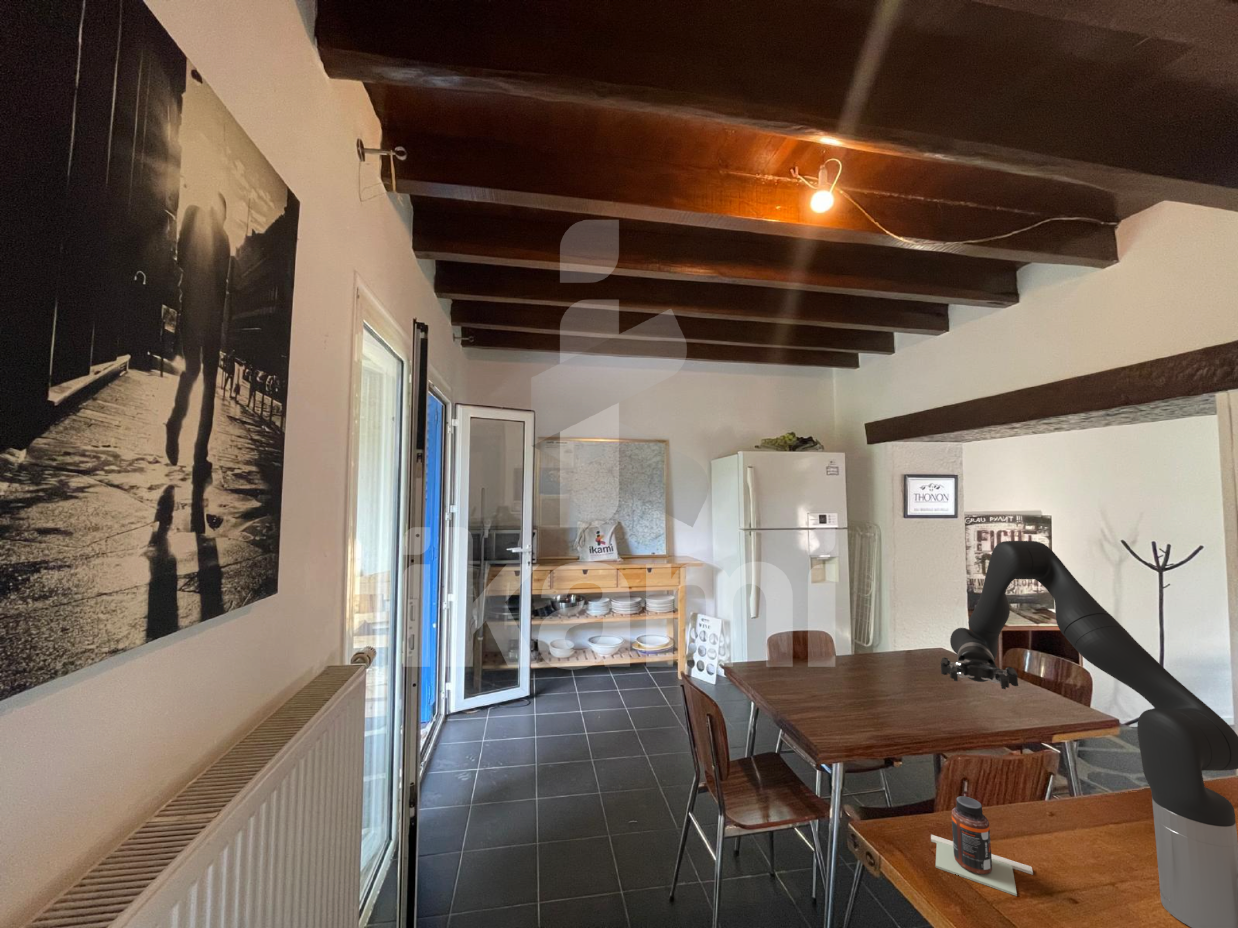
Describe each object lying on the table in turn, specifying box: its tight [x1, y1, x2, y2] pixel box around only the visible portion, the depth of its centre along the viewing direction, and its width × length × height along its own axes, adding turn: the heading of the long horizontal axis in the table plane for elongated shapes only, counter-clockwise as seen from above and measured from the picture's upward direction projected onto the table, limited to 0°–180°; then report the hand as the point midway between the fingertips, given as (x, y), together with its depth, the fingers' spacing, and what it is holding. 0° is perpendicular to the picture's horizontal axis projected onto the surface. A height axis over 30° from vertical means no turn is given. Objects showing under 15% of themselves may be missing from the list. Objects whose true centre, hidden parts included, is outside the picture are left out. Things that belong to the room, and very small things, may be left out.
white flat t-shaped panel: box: [930, 834, 1034, 897], centre depth 92 cm, size 16×10×1 cm, turn 56°
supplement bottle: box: [950, 795, 992, 874], centre depth 93 cm, size 6×6×11 cm
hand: (979, 680), depth 107 cm, fingers open, 8 cm apart
